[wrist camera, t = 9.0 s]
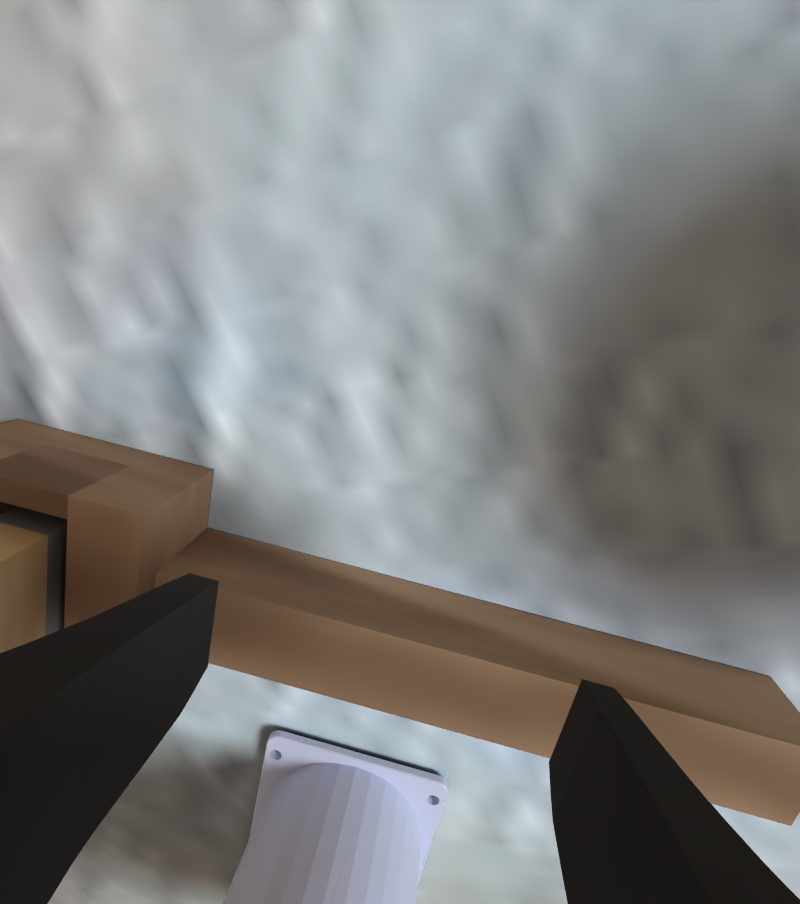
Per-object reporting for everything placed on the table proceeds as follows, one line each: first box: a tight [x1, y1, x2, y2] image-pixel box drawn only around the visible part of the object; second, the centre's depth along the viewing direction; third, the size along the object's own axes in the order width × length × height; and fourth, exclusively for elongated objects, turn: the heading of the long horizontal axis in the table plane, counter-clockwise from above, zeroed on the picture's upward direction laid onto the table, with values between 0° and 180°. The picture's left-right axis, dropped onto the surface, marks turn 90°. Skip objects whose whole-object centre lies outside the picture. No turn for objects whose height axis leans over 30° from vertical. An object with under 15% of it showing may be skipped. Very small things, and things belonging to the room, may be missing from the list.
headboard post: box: [0, 419, 800, 826], centre depth 18 cm, size 8×30×4 cm, turn 78°
